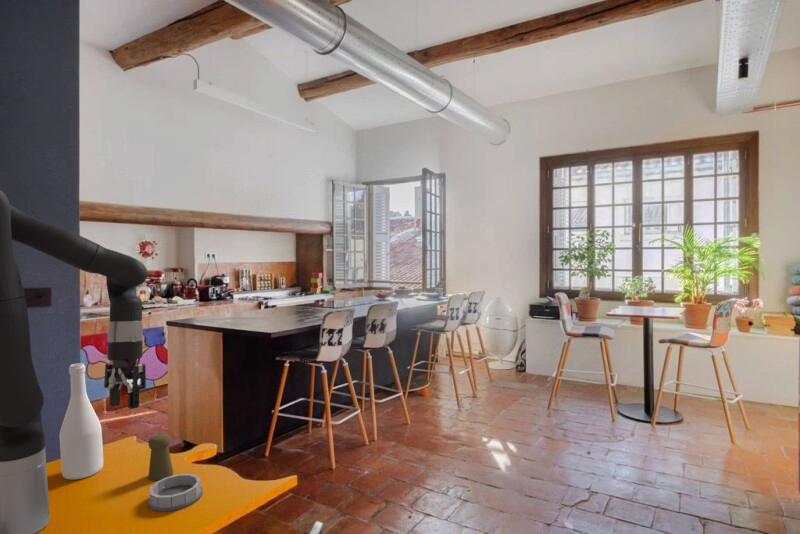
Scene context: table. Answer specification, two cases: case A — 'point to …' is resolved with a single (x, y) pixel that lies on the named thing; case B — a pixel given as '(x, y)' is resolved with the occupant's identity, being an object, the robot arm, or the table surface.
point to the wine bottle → (80, 432)
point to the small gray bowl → (175, 493)
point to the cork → (160, 457)
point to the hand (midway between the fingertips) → (123, 407)
